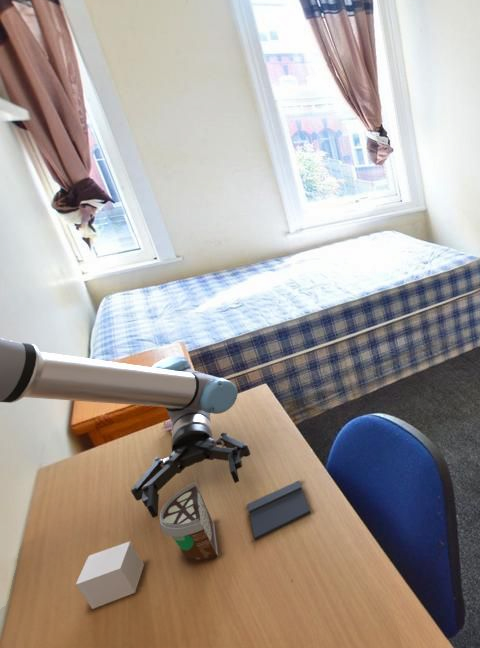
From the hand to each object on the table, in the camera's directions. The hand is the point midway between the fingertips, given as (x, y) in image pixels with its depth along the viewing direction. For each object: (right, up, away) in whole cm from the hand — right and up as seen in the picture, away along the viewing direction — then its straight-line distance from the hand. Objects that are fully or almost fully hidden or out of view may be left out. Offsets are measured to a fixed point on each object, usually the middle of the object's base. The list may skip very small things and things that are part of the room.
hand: (195, 493), depth 89 cm
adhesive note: (-8, -13, -8) cm, 17 cm away
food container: (+2, -9, -2) cm, 10 cm away
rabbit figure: (-25, +3, +33) cm, 41 cm away
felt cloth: (+14, -5, +5) cm, 15 cm away
